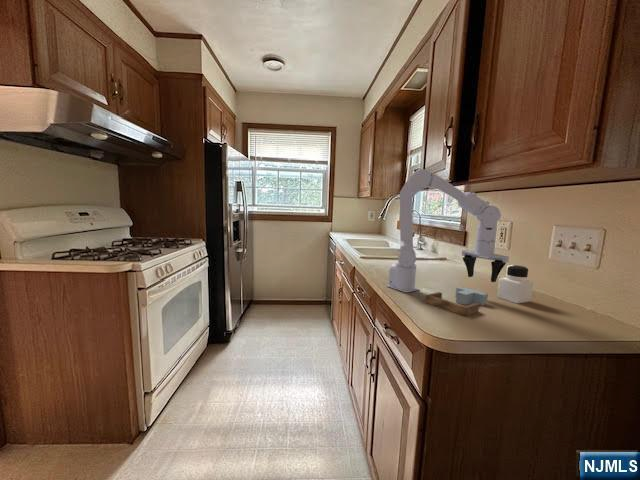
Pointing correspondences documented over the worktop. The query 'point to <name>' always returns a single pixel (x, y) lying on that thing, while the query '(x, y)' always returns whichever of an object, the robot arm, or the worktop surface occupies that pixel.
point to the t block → (470, 296)
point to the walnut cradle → (451, 305)
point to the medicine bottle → (515, 285)
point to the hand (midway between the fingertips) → (481, 279)
